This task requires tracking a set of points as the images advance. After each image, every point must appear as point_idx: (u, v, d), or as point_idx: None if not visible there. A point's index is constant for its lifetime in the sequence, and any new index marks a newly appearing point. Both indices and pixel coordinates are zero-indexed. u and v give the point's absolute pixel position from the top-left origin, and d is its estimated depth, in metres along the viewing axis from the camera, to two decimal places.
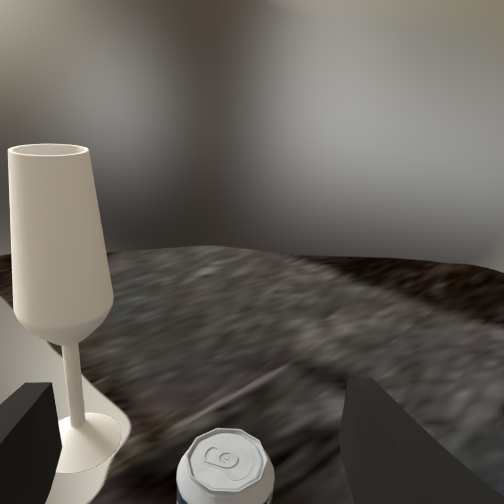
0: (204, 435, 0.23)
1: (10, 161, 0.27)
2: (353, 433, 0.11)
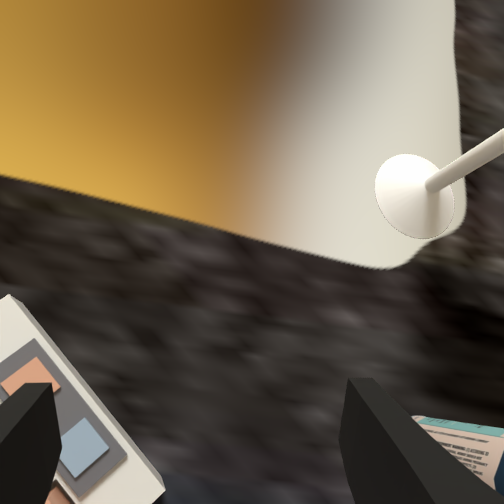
0: None
1: None
2: (353, 433, 0.11)
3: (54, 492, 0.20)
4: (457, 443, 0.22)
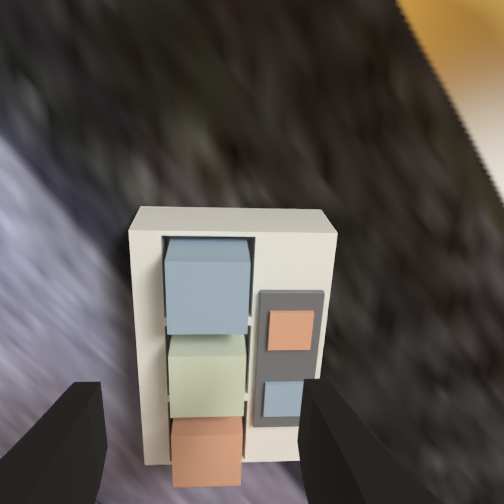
0: None
1: None
2: (307, 434, 0.10)
3: None
4: None
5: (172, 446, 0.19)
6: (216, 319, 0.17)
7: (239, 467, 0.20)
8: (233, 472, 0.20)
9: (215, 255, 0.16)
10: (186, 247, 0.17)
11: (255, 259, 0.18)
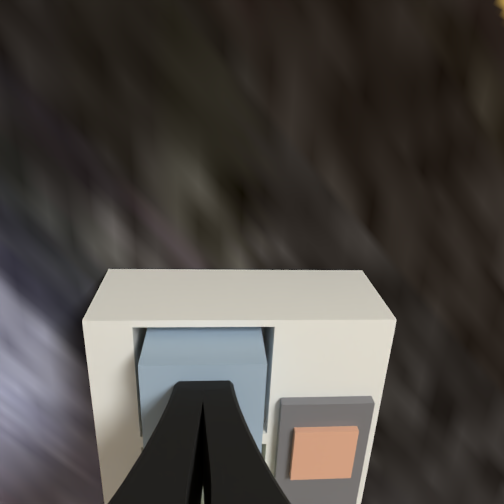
0: None
1: None
2: (203, 437, 0.10)
3: None
4: None
5: None
6: None
7: None
8: None
9: (214, 350, 0.11)
10: (172, 333, 0.12)
11: (273, 357, 0.12)
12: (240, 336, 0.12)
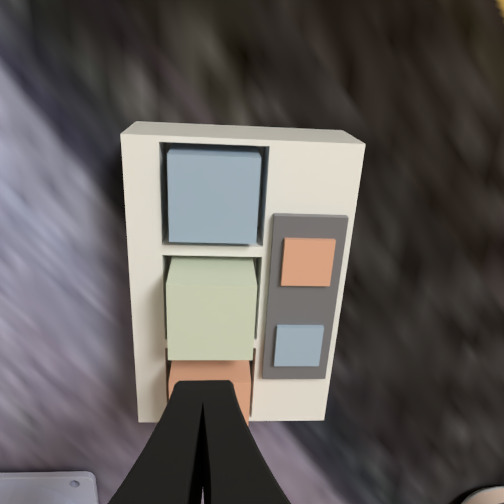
0: None
1: None
2: (203, 437, 0.10)
3: None
4: None
5: (170, 395, 0.16)
6: (222, 225, 0.15)
7: (246, 422, 0.17)
8: None
9: (222, 153, 0.15)
10: (191, 147, 0.15)
11: (268, 174, 0.15)
12: (241, 150, 0.15)
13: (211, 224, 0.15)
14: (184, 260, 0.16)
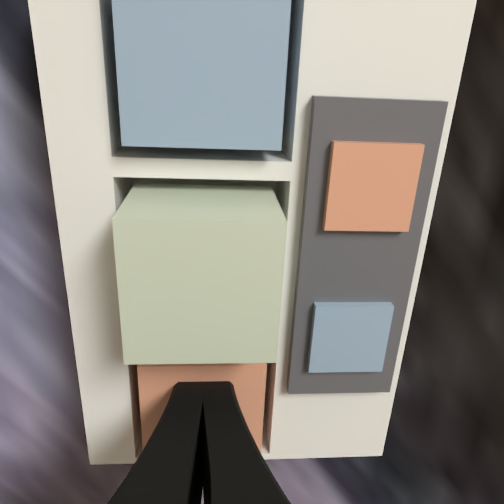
0: None
1: None
2: (203, 437, 0.10)
3: None
4: None
5: (140, 386, 0.11)
6: (220, 113, 0.08)
7: (259, 427, 0.11)
8: None
9: None
10: None
11: (304, 15, 0.08)
12: None
13: (199, 111, 0.08)
14: (154, 189, 0.09)
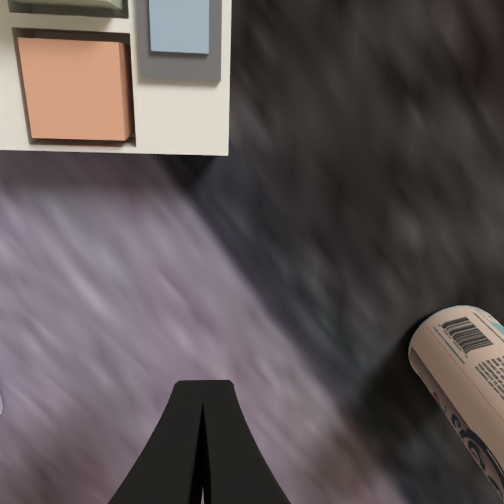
0: None
1: None
2: (203, 437, 0.10)
3: (126, 46, 0.15)
4: None
5: (21, 57, 0.14)
6: None
7: (119, 106, 0.15)
8: (112, 115, 0.15)
9: None
10: None
11: None
12: None
13: None
14: None
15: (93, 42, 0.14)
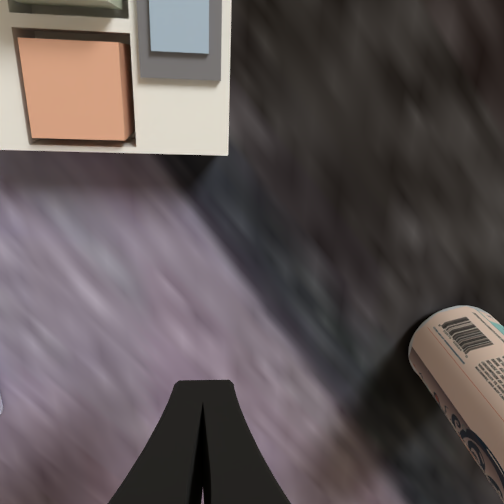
0: None
1: None
2: (203, 437, 0.10)
3: (126, 46, 0.15)
4: None
5: (21, 57, 0.14)
6: None
7: (119, 106, 0.15)
8: (112, 115, 0.15)
9: None
10: None
11: None
12: None
13: None
14: None
15: (93, 42, 0.14)
